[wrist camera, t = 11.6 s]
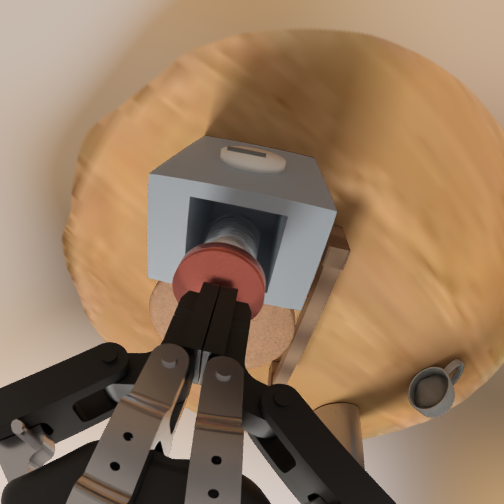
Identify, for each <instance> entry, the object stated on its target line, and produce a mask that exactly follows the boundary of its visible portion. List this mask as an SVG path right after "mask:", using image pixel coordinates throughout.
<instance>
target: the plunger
mask: <svg viewBox="0 0 504 504" xmlns="http://www.w3.org/2000/svg"><path fill="white" fill-rule="evenodd" d="M259 241H260V232H259V229H258V226H257V225H256V223H255V222H254V221H253V220H252V219H251V218H249V217H248V216H246V215H244V214H240V213H226V214H224V215H221V216H220V217H218V218H217V219H216V220H215V221H214V223H213V225H212V227H211V229H210V231H209V233H208V235H207V237H206V239H205V241H204V243H203V244H201V245H198V246H196V247H194V248H192V249H191V250H190V251H188V252H187V253H186V254H185V256H184V257H183V258H182V260H181V262H180V264H179V266H178V268H177V270H176V272H175V274H174V276H173V281H172V289H173V294H174V296H175V299H176V300H177V302H178V303H179V301H180V299H181V297H182V296H183V295H184V294H186V293H187V292H188V291H189V290H190V291H194V292H198V293H199V292H200V290H201V287H202V284H203V282H209V283H213V284H218V285H221V286H222V285H223V286H227V287H232V288H237V289H238V294H237V298H236V301H239V302H244V303H248V304H249V307H250V309H251V312H252V315H251V320H252V319H253V318H254V317H256V316H257V314H258V313H259V312H260V310H261V309H262V306H263V303H264V297H265V287H266V280H265V274H264V271H263V269H262V267H261V265H260V264H259V262H258V261H257V254H258V248H259ZM220 290H221V287H220Z"/></svg>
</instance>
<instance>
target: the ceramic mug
mask: <svg viewBox="0 0 504 504" xmlns="http://www.w3.org/2000/svg"><path fill="white" fill-rule="evenodd" d="M456 367H457V370H456V372H455V373H454V374H453V376H452V377H451V378H450V376H449V375H450V374H451V372H452V371H453V370H454V369H455V368H456ZM463 370H464V363H463V362H462V361H460V360H459V359H455V360H453V361H452V362H450V363H449V364H448V365H447V366H446V367H445V368H444V369H443V368H440V367H429V368H426V369H424V370H422V371H420V372H419V373H418V374H417V375H416V376H415V377H414V378H413V380H412V381H411V383H410V386H409V389H408V398H409V401H410V404H411V405H412V406H413V407H414V408H415V409H416V410H418V411H419V412H420V413H422V414H423V415H424V416H427V417H433V418H434V417H439V416H441V415H443V414H445V413H446V412H447V411H448V410H449V409H450V408H451V406H452V404H453V402H454V397H455V392H454V387H453V385H454V384H455V383H456V382H457V380H458V379H459V378H460V376H461V374H462V372H463Z"/></svg>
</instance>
